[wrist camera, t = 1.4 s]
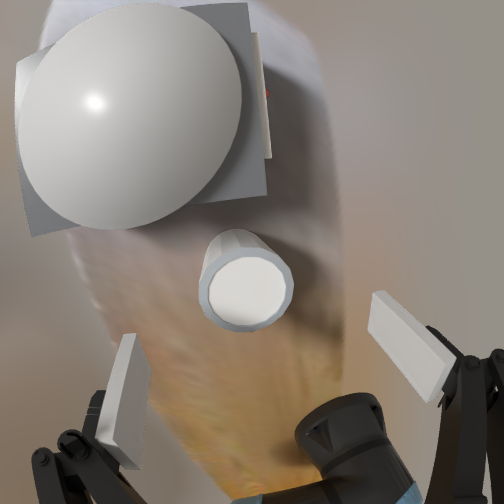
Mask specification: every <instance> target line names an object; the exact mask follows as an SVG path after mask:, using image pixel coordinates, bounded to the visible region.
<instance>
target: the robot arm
mask: <svg viewBox="0 0 504 504" xmlns="http://www.w3.org/2000/svg"><path fill="white" fill-rule="evenodd" d="M367 330H368V332H369V333H370V334H371V335H372V336H373V338H374V339H375V340H376V341H377V342H378V344H379V345H380V346H381V347H382V349H383V350H384V351H385V352H386V353H387V355H388V356H389V357H390V358H391V360H392V361H393V362H394V363H395V365H396V366H397V367H398V368H399V369H400V371H401V372H402V373H403V375H404V376H405V377H406V378H407V379H408V381H409V382H410V383H411V385H412V386H413V387H414V388H415V390H416V391H417V392H418V394H419V395H420V396H421V397H422V399H423V400H424V401H425V403H428V402H430V401H432V400H433V399H435V398H437V397H438V394H439V393H440V391H441V389H442V391H443V392H444V395H443V397H442V399H441V401H440V402H439V404H438V408H439V407H440V405H441V404H442V413H441V423H440V431H439V438H438V445H437V451H436V457H435V462H434V467H433V472H432V476H431V481H430V485H429V489H428V493H427V496H426V500H425V503H424V504H487V503H488V500H487V497H486V496H484V495H483V494H482V489H483V481H484V473H485V463H486V451H487V457H488V464H489V471H490V479H491V491H492V504H504V350H503V349H495V350H493V351H492V353H491V355H490V357H489V358H486V359H481V360H480V359H479V358H477V357H475V356H472V355H467V356H464V355H463V354H462V353H461V352H460V351H459V350H458V349H457V348H456V347H455V346H453V345H452V344H451V343H450V342H449V341H447V339H446V338H445V337H444V336H442V334H441V333H440V332H439V331H438V330H436V329H434V328H432V327H430V326H426V327H424V326H423V325H422V324H421V323H420V322H419V321H418V320H417V319H416V318H415V317H414V316H412V315H411V314H410V313H409V312H408V311H407V310H406V309H405V308H404V307H403V306H401V305H400V304H399V303H398V302H397V301H396V300H395V299H394V298H393V297H391V296H390V295H389V294H388V293H387V292H385V290H380V291H376V292H373V295H372V303H371V310H370V316H369V322H368V328H367ZM151 371H152V370H151V367H150V365H149V363H148V360H147V358H146V356H145V353H144V351H143V348H142V346H141V343H140V341H139V338H138V335H137V333H132V334H124V335H123V338H122V341H121V344H120V347H119V350H118V353H117V356H116V359H115V363H114V366H113V369H112V373H111V376H110V380H109V383H108V387H107V390H97V391H96V393H95V394H94V395H93V396H92V398H91V401H90V404H89V408H88V411H87V416H86V418H85V422H84V426H83V429H82V433H81V432H80V431H77V430H67V431H65V432H63V433H62V434H61V435H60V437H59V438H58V443H57V445H58V449H59V450H60V451H61V452H59V453H53V452H52V451H51V450H50V449H48V448H45V447H44V448H39V449H37V450H36V451H35V452H34V453H33V455H32V461H31V462H32V469H33V475H34V480H35V485H36V490H37V495H38V499H39V503H40V504H93V502H92V499H91V497H90V495H91V496H92V498H93V499H94V500H95V502H96V503H97V504H147V503H146V502H145V501H144V500H143V498H142V497H141V496H140V495H139V494H138V493H137V492H136V491H135V489H134V488H133V487H132V486H131V485H130V483H129V482H128V481H127V480H126V479H125V477H124V476H123V475H122V474H121V473H120V472H119V465H121V466H122V467H123V468H124V469H130V470H141V462H142V449H143V437H144V427H145V416H146V409H147V400H148V393H149V385H150V378H151ZM496 386H497V389H498V391H496V390H495V387H496ZM295 439H296V442H297V445H298V447H299V449H300V450H301V451H302V452H303V453H304V455H305V456H306V457H307V458H308V459H309V460H310V461H311V462H312V463H313V464H314V465H315V467H316V468H317V469H318V470H319V472H320V474H321V476H322V479H323V480H322V481H319V482H315V483H311V484H308V485H304V486H300V487H296V488H292V489H287V490H283V491H278V492H273V493H267V494H259V495H257V496H252V497H247V498H241V499H237V500H234V501H233V502H232V503H231V504H422V501H423V499H422V495H421V493H420V491H419V489H418V487H417V484H416V481H414V480H413V478H412V476H411V475H410V473H409V471H408V470H407V468H406V467H405V465H404V463H403V462H402V460H401V458H400V457H399V455H398V454H397V452H396V450H395V449H394V447H393V446H392V444H391V442H390V441H389V439H388V437H387V433H386V428H385V422H384V417H383V412H382V408H381V406H380V404H379V402H378V401H377V399H376V398H375V396H373V395H372V394H369V393H353V394H349V395H345V396H342V397H339V398H336V399H334V400H332V401H330V402H328V403H326V404H324V405H322V406H320V407H319V408H317V409H315V410H314V411H313V412H311V413H310V414H309V415H307V416H306V417H305V418H304V419H303V420H302V421H301V422H300V423H299V425H298V426H297V428H296V430H295ZM89 493H90V494H89Z"/></svg>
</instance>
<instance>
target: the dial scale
mask: <svg viewBox="0 0 504 504" xmlns="http://www.w3.org/2000/svg"><path fill="white" fill-rule="evenodd" d="M268 96H269V91H268V90H265V82H264V73H263V65H262V56H261V48H260V40H259V33H251V29H250V21H249V13H248V5H247V3H220V4H206V5H196V6H188V7H180V8H178V7H174V6H171V5H165V4H159V3H136V4H128V5H123V6H119V7H115V8H111V9H109V10H106V11H103V12H100V13H98V14H96V15H94V16H92V17H90V18H88V19H86V20H85V21H83V22H82V23H80V24H78V25H77V26H75V27H74V28H73V29H71V30H70V31H69V32H68V33H66V34H65V35H64V36H63V37H62V38H61V39H60V40H59V41H58V42H57V43H55V44H53V45H50V46H48V47H46V48H44V49H42V50H40V51H38V52H36V53H34V54H32V55H30V56H28V57H26V58H25V59H23V60H21V61H19V62H17V69H16V84H15V135H16V149H17V159H18V168H19V176H20V182H21V189H22V194H23V200H24V205H25V210H26V215H27V219H28V224H29V228H30V232H31V236H32V237H34V236H38V235H42V234H46V233H51V232H55V231H59V230H63V229H68V228H72V227H77V226H81V225H82V226H85V227H89V228H95V229H101V230H121V229H130V228H134V227H138V226H142V225H146V224H149V223H151V222H154V221H156V220H159V219H161V218H163V217H165V216H167V215H169V214H171V213H172V212H174V211H176V210H177V209H179V208H180V207H183V206H190V205H196V204H203V203H210V202H217V201H224V200H232V199H240V198H248V197H256V196H265V195H267V185H266V174H265V162H264V159H269V158H272V153H271V142H270V131H269V121H268V111H267V101H266V98H267V97H268Z"/></svg>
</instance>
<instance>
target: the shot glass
mask: <svg viewBox="0 0 504 504" xmlns="http://www.w3.org/2000/svg"><path fill="white" fill-rule="evenodd" d="M293 289H294V282H293V278H292V275H291V271H290V268H289V267H288V266H287V265H286V264H285V262H284V261H283V260H282V259H281V258H280V257H279V256H278V255H277V254H276V253H275V252H274V251H273V250H272V249H271V248H270V247H269V246H267V245H266V244H265V243H264V242H263V241H262V240H261V239H260V238H259V237H258V236H256V235H255V234H254V233H251V232H249V231H247V230H245V229H230V230H227V231H224V232H221V233H220V234H218V235H217V236H216V237H215V238H214V239H213V240H212V241H211V242H210V245H209V247H208V249H207V251H206V254H205V259H204V263H203V268H202V272H201V277H200V281H199V302H200V305H201V307H202V309H203V311H204V313H205V315H206V316H207V317H208V318H209V319H210V320H211V321H213V322H214V323H215V324H216V325H217V326H219V327H221V328H224V329H227V330H230V331H233V332H253V331H256V330H259V329H261V328H264V327H267V326H269V325H271V324H272V323H273V322H274V321H276V320H277V319H278V318H279V317H281V316H282V315H283V314H284V312H285V310H286V309H287V307H288V306H289V304H290V302H291V301H292V295H293Z"/></svg>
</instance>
